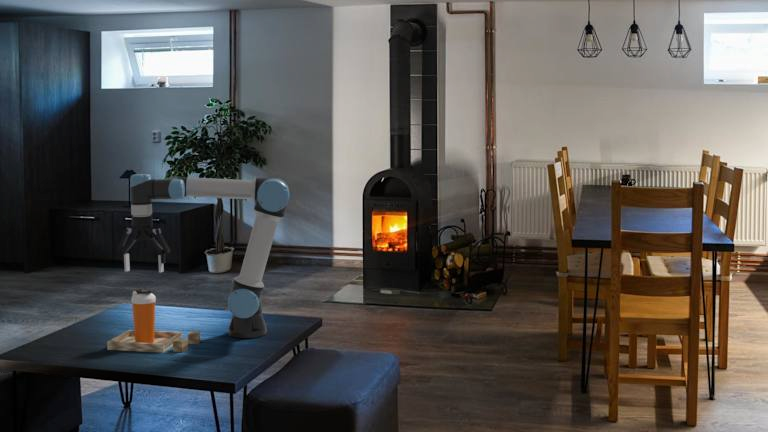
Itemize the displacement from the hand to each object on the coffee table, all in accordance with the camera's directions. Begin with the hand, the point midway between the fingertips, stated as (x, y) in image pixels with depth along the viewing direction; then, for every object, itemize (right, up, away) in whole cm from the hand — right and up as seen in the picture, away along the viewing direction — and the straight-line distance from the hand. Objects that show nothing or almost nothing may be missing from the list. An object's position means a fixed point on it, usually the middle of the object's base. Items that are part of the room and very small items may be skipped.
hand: (144, 271), depth 318 cm
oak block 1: (+15, -29, -4) cm, 33 cm away
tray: (0, -28, +3) cm, 28 cm away
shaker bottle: (-1, -27, +3) cm, 27 cm away
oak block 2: (+17, -28, +7) cm, 33 cm away
